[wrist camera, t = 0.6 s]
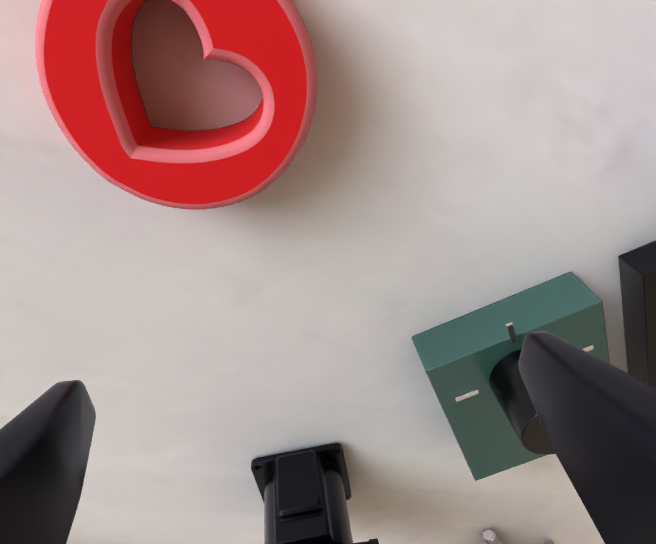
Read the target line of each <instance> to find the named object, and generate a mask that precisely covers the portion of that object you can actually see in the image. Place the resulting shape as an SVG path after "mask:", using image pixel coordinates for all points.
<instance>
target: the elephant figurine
mask: <svg viewBox="0 0 656 544" xmlns="http://www.w3.org/2000/svg"><path fill="white" fill-rule="evenodd" d="M482 537H483V539H484V540H485V541H486V542H487V543H488V544H503V543H502V542H501V541H500V539H499V538H498V537H497V535H496V534H495V533H494V532H493V531H492V530H485V531H483V533H482ZM543 544H554V543H553V542H552V541H551V540H550V541H549V540H547V541H545V542H544V543H543Z"/></svg>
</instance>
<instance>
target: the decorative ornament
mask: <svg viewBox="0 0 656 544" xmlns="http://www.w3.org/2000/svg"><path fill="white" fill-rule="evenodd" d="M145 1H146V0H42V2H41V6H40V10H39V15H38V21H37V28H36V42H35V47H36V62H37V70H38V75H39V80H40V84H41V87H42V90H43V93H44V96H45V99H46V101H47V104H48V106H49V108H50V110H51V112H52V114H53V116H54V118H55V120H56V122H57V124H58V125H59V127H60V129H61V130H62V132H63V133H64V135H65V136H66V138H67V139H68V141H69V142H70V144H71V145H72V146H73V148H74V149H75V150H76V151H77V152H78V153H79V155H80V156H81V157H82V158H83V159H84V160H85V161H86V162H87V163H88V164H89V165H90V166H91V167H92V168H93V169H94V170H95V171H96V172H97V173H99V174H100V175H101V176H102V177H103V178H105V179H106V180H107V181H109V182H110V183H112V184H114V185H115V186H117V187H119V188H121V189H123V190H125V191H127V192H129V193H131V194H133V195H135V196H137V197H139V198H141V199H144V200H146V201H150V202H153V203H156V204H160V205H164V206H168V207H174V208H181V209H210V208H217V207H223V206H227V205H231V204H234V203H237V202H240V201H243V200H245V199H248V198H250V197H252V196H254V195H256V194H257V193H259V192H261V191H262V190H264V189H265V188H266V187H268V186H269V185H270V184H271V183H273V182H274V181H275V180H276V179H277V178H278V177H279V176H280V175H281V174H282V173H283V172H284V171H285V170H286V168H287V167H288V166H289V165H290V163H291V162H292V161H293V159H294V158H295V156H296V155H297V153H298V152H299V150H300V148H301V146H302V145H303V142H304V140H305V138H306V136H307V133H308V131H309V127H310V124H311V121H312V117H313V113H314V108H315V101H316V92H317V74H316V64H315V58H314V53H313V49H312V45H311V42H310V38H309V36H308V33H307V30H306V28H305V25H304V23H303V21H302V19H301V17H300V15H299V13H298V11H297V9H296V7H295V6H294V4H293V2H292V1H291V0H172V1H173V2H175V3H176V4H178V5H179V6H180V7H182V8H183V9H184V10H185V11H186V13H187V14H188V15H189V17H190V18H191V20H192V22H193V23H194V25H195V27H196V29H197V31H198V33H199V36H200V39H201V42H202V46H203V52H204V58H203V59H204V60H206V59H217V60H224V61H229V62H232V63H235V64H237V65H239V66H241V67H243V68H244V69H246V70H247V71H248V72H249V73H250V74H251V75H252V76H253V77H254V78H255V79H256V81H257V82H258V84H259V86H260V88H261V90H262V94H263V98H262V101H261V103H260V105H259V107H258V109H257V110H256V111H255V112H254V113H253V114H252V115H251V116H250V117H248V118H247V119H245V120H243V121H241V122H239V123H236V124H233V125H231V126H227V127H223V128H218V129H212V130H200V131H184V130H173V129H165V128H158V127H152V125H151V124H150V122H149V120H148V117H147V114H146V111H145V108H144V105H143V102H142V99H141V96H140V92H139V89H138V86H137V82H136V78H135V74H134V69H133V64H132V56H131V31H132V25H133V21H134V19H135V16H136V14H137V12H138V10H139V8H140V7H141V5H142V4H143V3H144V2H145Z"/></svg>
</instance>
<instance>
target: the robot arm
mask: <svg viewBox="0 0 656 544" xmlns="http://www.w3.org/2000/svg"><path fill="white" fill-rule="evenodd" d="M519 371H520V374H521V376H522V379H523V381H524V384H525V386H526V388H527V391H528V393H529V396H530V398H531V400H532V403H533V405H534V408H535V410H536V412H537V415H538V417H539V420H540V422H541V424H542V427H543V429H544V431H545V433H546V436H547V438H548V440H549V442H550V444H551V445H552V447H553V449H554V451H555V453H556V455H557V457H558V458H559V460H560V462H561V464H562V466H563V467H564V469H565V471H566V473H567V475H568V477H569V478H570V480H571V482H572V484H573V486H574V488H575V489H576V491H577V493H578V495H579V497H580V498H581V500H582V502H583V504H584V506H585V508H586V509H587V511H588V513H589V515H590V517H591V519H592V520H593V522H594V524H595V526H596V528H597V530H598V531H599V533H600V535H601V537H602V539H603V540H604V542H605V544H656V389H655V388H654V387H652V386H650V385H648V384H646V383H644V382H642V381H641V380H639V379H637V378H635V377H633V376H631V375H629V374H627V373H626V372H624V371H622V370H620V369H618V368H616V367H614V366H612V365H611V364H609V363H607V362H605V361H603V360H601V359H599V358H597V357H596V356H594V355H592V354H590V353H588V352H586V351H584V350H582V349H581V348H579V347H577V346H575V345H573V344H571V343H569V342H567V341H566V340H564V339H562V338H560V337H558V336H556V335H554V334H552V333H551V332H548V331H537V332H530V333H528V334H527V335H526V336H525V338H524V342H523V346H522V350H521V354H520V358H519ZM95 418H96V415H95V409H94V406H93V404H92V401H91V399H90V397H89V395H88V392H87V390H86V388H85V385H84V384H83V383H82V382H81V381H79V380H73V381H64V382H59V383H56V384H55V385H54V386H52V387H51V388H50V389H49V390H48V391H46V392H45V393H44V394H43V395H41V396H40V397H39V398H38V399H37V400H35V401H34V402H33V403H32V404H31V405H29V406H28V407H27V408H26V409H25V410H23V411H22V412H21V413H20V414H18V415H17V416H16V417H15V418H14V419H12V420H11V421H10V422H9V423H8V424H6V425H5V426H4V427H3V428H2V429H0V544H66V542H67V539H68V536H69V532H70V529H71V526H72V523H73V520H74V516H75V513H76V510H77V507H78V503H79V499H80V496H81V491H82V487H83V482H84V477H85V472H86V467H87V462H88V456H89V451H90V446H91V441H92V436H93V430H94V425H95ZM251 469H252V472H253V475H254V477H255V480H256V483H257V485H258V488H259V491H260V493H261V496H262V499H263V501H264V524H265V544H379V542H378V539H369V541H366V542H359V543H353V540H352V534H351V527H350V521H349V515H348V509H347V503H346V500H349V499H350V498H351V490H350V485H349V479H348V474H347V469H346V463H345V458H344V453H343V447H342V445H341V444H339V443H334V444H328V445H323V446H318V447H313V448H307V449H302V450H297V451H292V452H286V453H281V454H276V455H271V456H265V457H260V458H256V459H254V460H252V462H251Z"/></svg>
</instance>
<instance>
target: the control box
mask: <svg viewBox="0 0 656 544" xmlns="http://www.w3.org/2000/svg"><path fill="white" fill-rule="evenodd" d="M537 331H548V332H551V333H552V334H554V335H556V336H558V337H560V338H562V339H564V340H566V341H567V342H569V343H571V344H573V345H575V346H577V347H579V348H581V349H582V350H584V351H586V352H588V353H590V354H592V355H594V356H596V357H597V358H599V359H601V360H603V361H605V362H607V363H609V354H608V345H607V337H606V328H605V320H604V311H603V302H602V300H600V299H599V298H598V297H597V296H596V295H595V294H594V293H593V292H592V291H591V290H590V289H589V288H588V287H587V286H586V285H585V284H583V283H582V282H581V281H580V280H579V279H578V278H577V277H576V276H575V275H574V274H573V273H572V272H569V273H567V274H564V275H562V276H559V277H557V278H554V279H552V280H549V281H547V282H545V283H542V284H540V285H537V286H535V287H532V288H530V289H527V290H525V291H523V292H520V293H518V294H515V295H513V296H510V297H508V298H505V299H503V300H501V301H498V302H496V303H493V304H491V305H488V306H486V307H483V308H481V309H479V310H476V311H474V312H471V313H469V314H466V315H464V316H461V317H459V318H457V319H454V320H452V321H449V322H447V323H444V324H442V325H439V326H437V327H435V328H432V329H430V330H427V331H425V332H422V333H420V334H417V335H415V336H413V337H412V340H413V342H414V344H415V347H416V349H417V352H418V354H419V356H420V359H421V361H422V363H423V366H424V368H425V371H426V373H427V375H428V377H429V380H430V382H431V384H432V386H433V388H434V391H435V393H436V395H437V397H438V399H439V402H440V404H441V406H442V408H443V411H444V413H445V415H446V417H447V419H448V422H449V424H450V426H451V428H452V430H453V433H454V435H455V437H456V439H457V442H458V444H459V446H460V448H461V450H462V453H463V455H464V457H465V459H466V461H467V464H468V466H469V468H470V470H471V473H472V475H473V477H474V479H475V480H479V479H482V478H485V477H487V476H490V475H493V474H496V473H498V472H501V471H504V470H507V469H510V468H512V467H515V466H518V465H521V464H523V463H526V462H529V461H532V460H534V459H537V458H540V457H543V456H545V455H540V454H535V453H532V452H529V451H528V450H526V449H525V448H524V447H523V445H522V444H521V442H520V440H519V438H518V436H517V435H516V433H515V431H514V429H513V428H512V426H511V424H510V422H509V420H508V419H507V417H506V415H505V413H504V412H503V410H502V408H501V406H500V404H499V403H498V401H497V399H496V397H495V395H494V394H493V392H492V390H491V388H490V385H489V377H490V374H491V372H492V370H493V368H494V367H495V365H496V364H497V363H498V362H499V361H500V360H501V359H503V358H504V357H505V356H507V355H508V354H510V353H512V352H514V351H517V350H520V349H522V346H523V342H524V338H525V336H526V335H527V334H528V333H530V332H537ZM609 364H610V363H609Z"/></svg>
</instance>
